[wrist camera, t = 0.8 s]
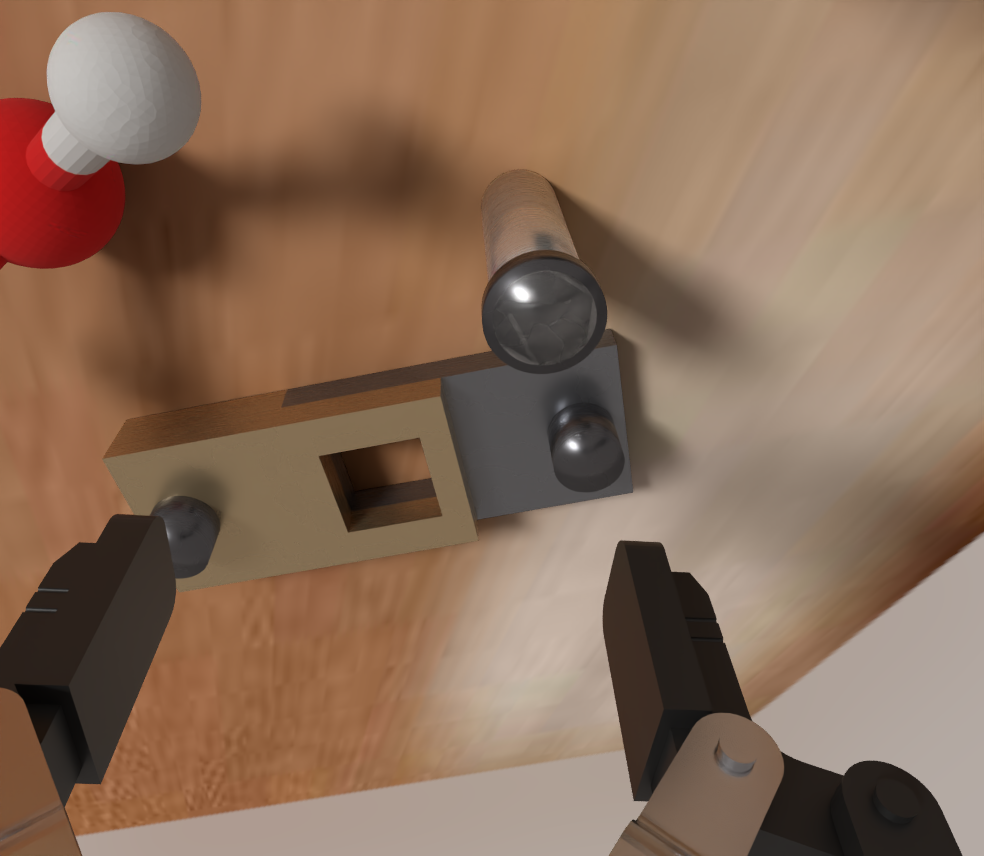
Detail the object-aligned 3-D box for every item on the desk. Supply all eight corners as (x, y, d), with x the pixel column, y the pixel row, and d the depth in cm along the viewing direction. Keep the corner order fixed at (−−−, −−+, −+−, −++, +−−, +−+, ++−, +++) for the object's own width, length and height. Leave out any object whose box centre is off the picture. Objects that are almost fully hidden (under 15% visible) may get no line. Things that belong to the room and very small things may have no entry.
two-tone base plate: (610, 328, 34) (632, 387, 30) (627, 473, 39) (648, 542, 34) (126, 420, 36) (83, 488, 31) (196, 549, 40) (166, 624, 36)
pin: (557, 152, 30) (599, 249, 22) (570, 242, 32) (613, 362, 24) (465, 171, 30) (471, 274, 22) (482, 259, 32) (494, 383, 24)
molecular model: (30, 363, 34) (-107, 514, 26) (-111, 273, 31) (-313, 407, 23) (281, 44, 27) (207, 106, 19) (129, -100, 25) (-31, -102, 17)
